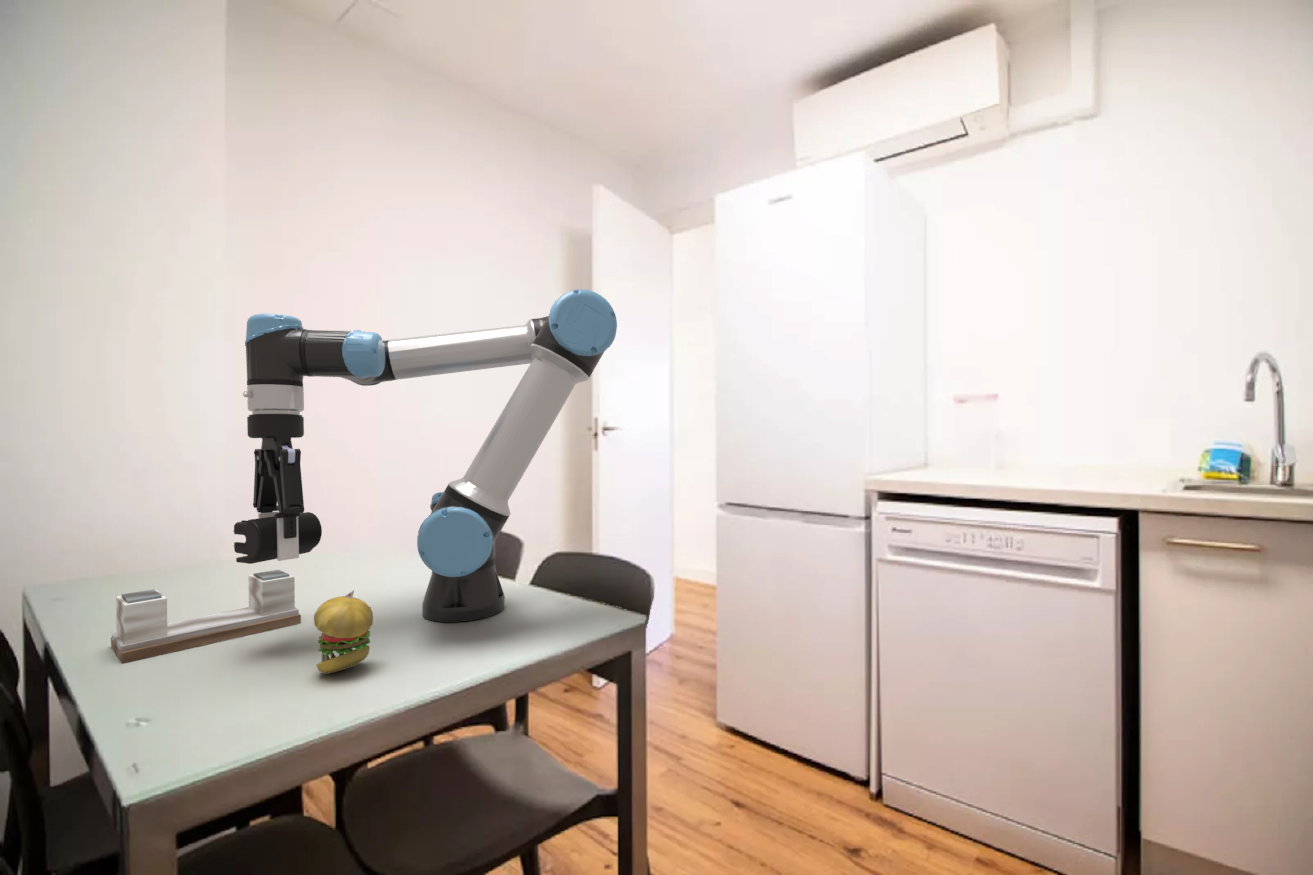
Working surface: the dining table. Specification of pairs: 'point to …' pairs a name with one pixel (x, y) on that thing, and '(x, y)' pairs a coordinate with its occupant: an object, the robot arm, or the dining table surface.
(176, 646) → the rail board
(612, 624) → the dining table surface
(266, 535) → the end cap
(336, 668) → the hamburger
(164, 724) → the dining table surface
